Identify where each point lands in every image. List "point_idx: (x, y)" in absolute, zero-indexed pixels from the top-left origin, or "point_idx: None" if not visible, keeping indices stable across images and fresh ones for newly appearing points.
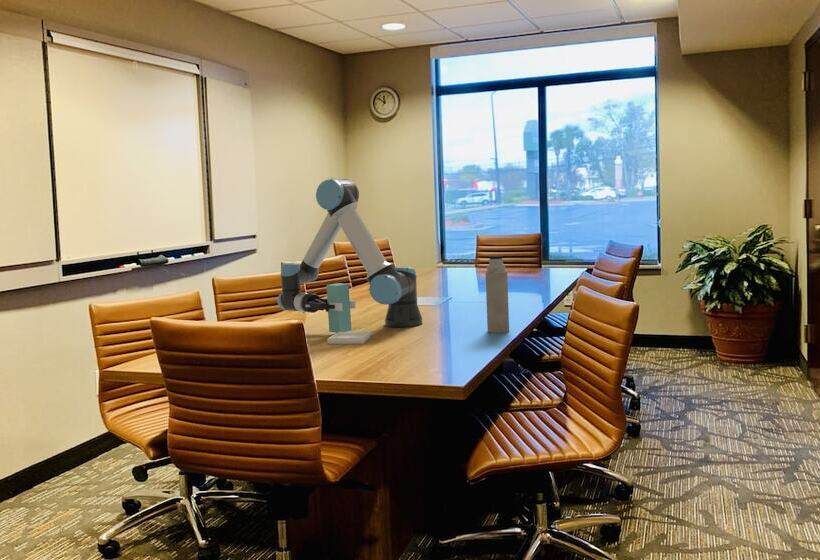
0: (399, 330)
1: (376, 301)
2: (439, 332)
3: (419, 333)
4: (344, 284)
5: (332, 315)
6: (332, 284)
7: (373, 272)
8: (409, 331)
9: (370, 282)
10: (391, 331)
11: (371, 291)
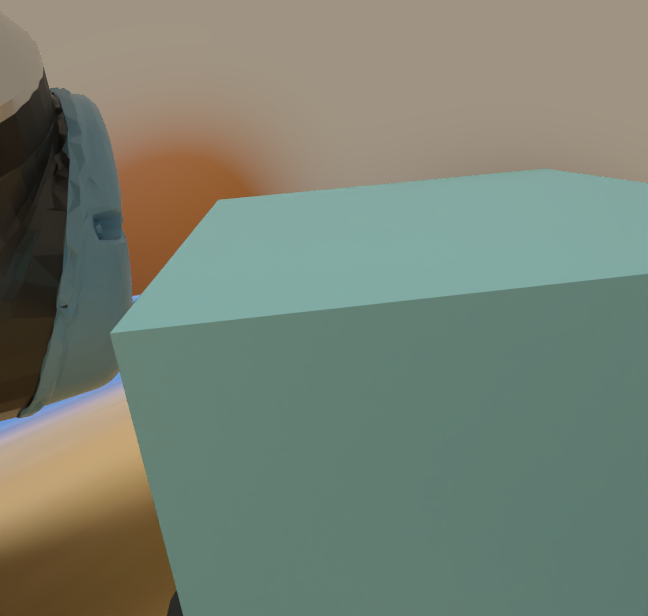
0: (44, 555)
1: (117, 372)
2: (87, 401)
3: (129, 430)
4: (340, 188)
5: None
6: (599, 239)
7: (33, 46)
8: (77, 490)
9: (22, 193)
10: (93, 568)
11: (128, 275)
